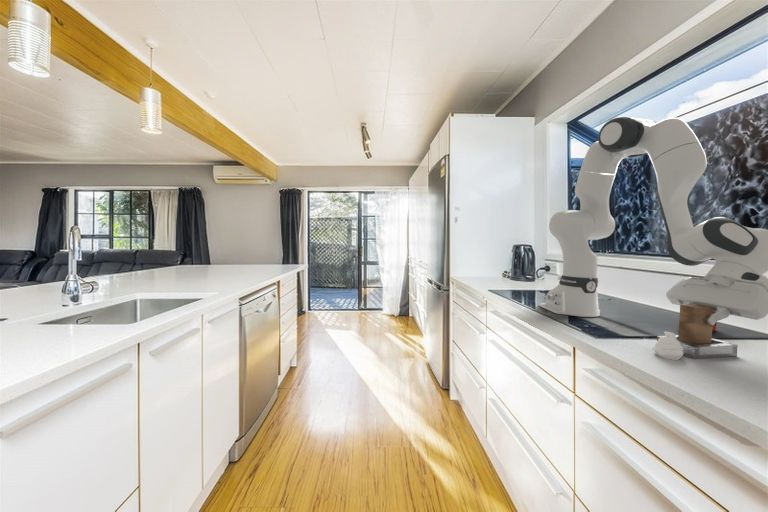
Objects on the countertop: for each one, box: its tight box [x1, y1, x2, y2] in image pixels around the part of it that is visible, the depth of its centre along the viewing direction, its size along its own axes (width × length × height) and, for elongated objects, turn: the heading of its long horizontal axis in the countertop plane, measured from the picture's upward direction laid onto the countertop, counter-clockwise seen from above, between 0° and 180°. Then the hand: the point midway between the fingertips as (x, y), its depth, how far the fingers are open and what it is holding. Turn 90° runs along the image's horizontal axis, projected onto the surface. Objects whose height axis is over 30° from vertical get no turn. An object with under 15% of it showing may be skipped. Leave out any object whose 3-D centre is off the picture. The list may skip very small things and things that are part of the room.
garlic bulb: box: [653, 331, 684, 361], centre depth 80 cm, size 6×6×5 cm
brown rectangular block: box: [677, 304, 714, 344], centre depth 83 cm, size 4×5×9 cm
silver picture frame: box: [656, 334, 739, 360], centre depth 84 cm, size 9×13×3 cm
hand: (695, 320), depth 83 cm, fingers closed on brown rectangular block, 4 cm apart
